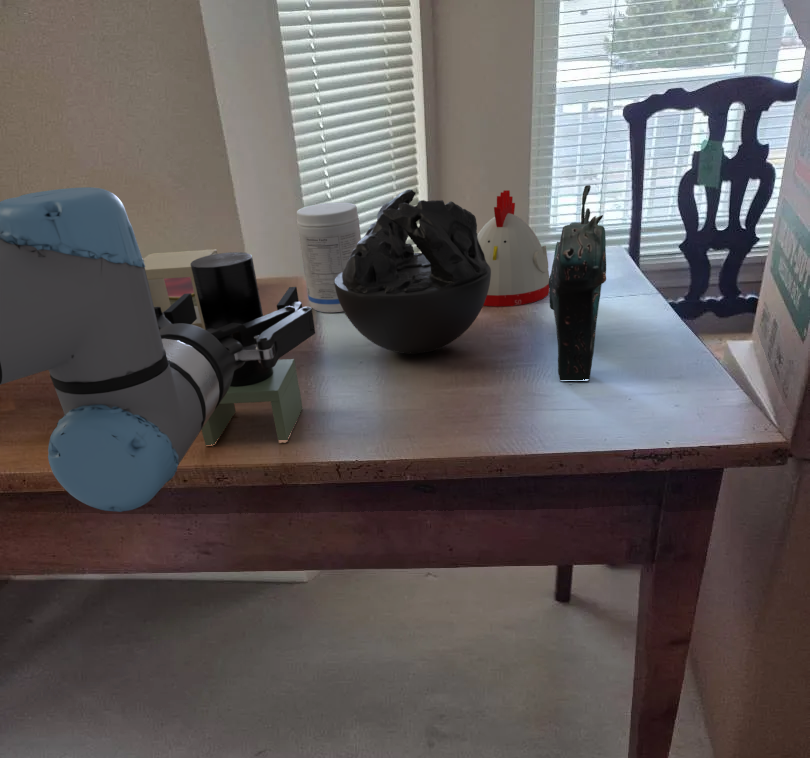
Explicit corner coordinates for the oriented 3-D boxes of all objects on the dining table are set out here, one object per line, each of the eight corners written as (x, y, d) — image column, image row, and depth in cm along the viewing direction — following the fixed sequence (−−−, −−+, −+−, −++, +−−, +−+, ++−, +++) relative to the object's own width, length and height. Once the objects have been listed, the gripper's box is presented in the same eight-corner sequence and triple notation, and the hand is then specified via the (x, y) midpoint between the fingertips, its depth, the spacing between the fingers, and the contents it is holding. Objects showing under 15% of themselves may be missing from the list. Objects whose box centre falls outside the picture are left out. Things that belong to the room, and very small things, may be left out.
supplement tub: (317, 297, 124) (304, 203, 115) (372, 295, 122) (363, 200, 114) (302, 315, 116) (287, 215, 107) (361, 313, 114) (350, 212, 106)
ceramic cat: (598, 388, 83) (612, 197, 72) (540, 387, 85) (545, 200, 73) (601, 331, 99) (613, 167, 88) (552, 331, 100) (558, 170, 89)
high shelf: (155, 380, 96) (124, 271, 89) (176, 356, 104) (150, 253, 96) (221, 376, 96) (195, 266, 88) (238, 352, 103) (216, 249, 95)
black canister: (210, 388, 76) (182, 269, 69) (225, 367, 81) (200, 254, 74) (266, 385, 75) (243, 265, 69) (278, 364, 80) (258, 250, 74)
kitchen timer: (449, 304, 114) (445, 200, 106) (477, 280, 125) (475, 184, 116) (537, 308, 109) (539, 199, 101) (558, 282, 120) (561, 182, 111)
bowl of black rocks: (459, 384, 87) (453, 215, 77) (316, 369, 95) (293, 214, 85) (511, 330, 102) (512, 182, 92) (383, 321, 110) (371, 184, 99)
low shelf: (205, 446, 78) (192, 394, 75) (227, 412, 86) (216, 363, 82) (287, 443, 77) (277, 390, 74) (302, 408, 85) (294, 358, 82)
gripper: (57, 429, 63) (147, 343, 81) (322, 417, 61) (353, 331, 79) (25, 344, 59) (128, 273, 77) (308, 328, 57) (345, 259, 75)
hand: (242, 303), depth 78 cm, fingers open, 11 cm apart
